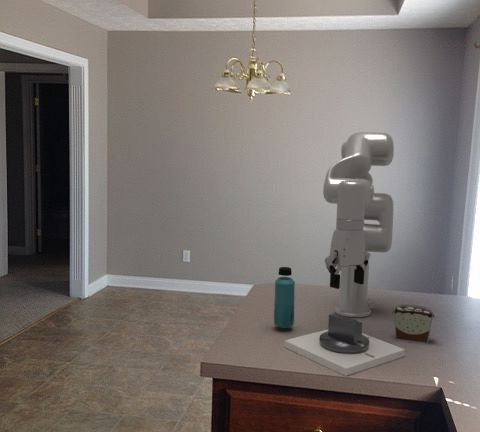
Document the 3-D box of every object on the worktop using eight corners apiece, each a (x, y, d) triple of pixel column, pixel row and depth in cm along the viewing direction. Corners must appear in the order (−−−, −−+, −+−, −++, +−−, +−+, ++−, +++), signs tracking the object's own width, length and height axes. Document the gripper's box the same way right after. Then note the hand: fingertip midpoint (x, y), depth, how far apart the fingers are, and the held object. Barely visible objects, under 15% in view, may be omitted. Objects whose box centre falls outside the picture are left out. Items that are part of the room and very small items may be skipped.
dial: (309, 341, 163) (310, 316, 162) (342, 332, 171) (344, 308, 170) (345, 357, 152) (346, 330, 151) (379, 346, 160) (380, 321, 159)
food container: (433, 337, 175) (435, 306, 174) (432, 344, 169) (435, 312, 168) (392, 332, 179) (393, 301, 178) (390, 338, 173) (392, 307, 172)
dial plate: (341, 331, 178) (342, 325, 178) (404, 356, 159) (405, 349, 159) (284, 347, 164) (284, 340, 164) (345, 376, 145) (346, 368, 145)
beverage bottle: (292, 333, 176) (295, 270, 173) (271, 331, 177) (273, 269, 174) (294, 326, 182) (297, 266, 179) (274, 324, 184) (276, 264, 181)
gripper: (360, 221, 165) (357, 279, 167) (317, 225, 155) (315, 286, 157) (381, 225, 159) (377, 284, 161) (337, 229, 149) (334, 292, 151)
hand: (346, 285), depth 159 cm, fingers open, 9 cm apart
